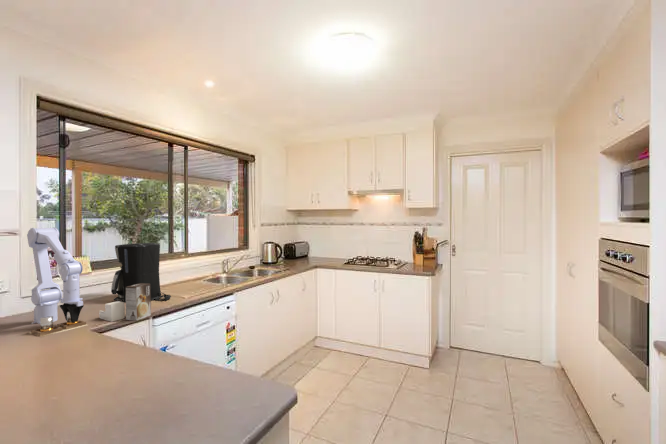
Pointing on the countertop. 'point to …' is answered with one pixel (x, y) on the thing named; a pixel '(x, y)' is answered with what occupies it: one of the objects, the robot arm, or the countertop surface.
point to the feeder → (113, 311)
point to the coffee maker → (138, 269)
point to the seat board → (58, 328)
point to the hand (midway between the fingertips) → (71, 320)
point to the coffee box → (138, 301)
